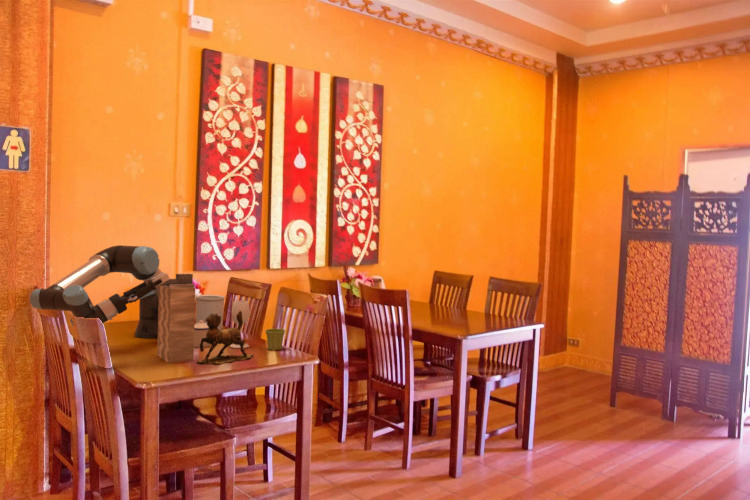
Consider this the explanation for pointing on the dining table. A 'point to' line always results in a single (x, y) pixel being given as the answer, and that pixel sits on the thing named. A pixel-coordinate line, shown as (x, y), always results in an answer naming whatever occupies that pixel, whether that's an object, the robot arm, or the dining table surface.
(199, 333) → the teacup with lid
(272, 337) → the plant pot
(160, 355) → the stand
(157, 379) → the dining table surface
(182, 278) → the dark wood beam
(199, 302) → the utensil holder
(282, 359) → the dining table surface
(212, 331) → the figurine
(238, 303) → the wineglass
